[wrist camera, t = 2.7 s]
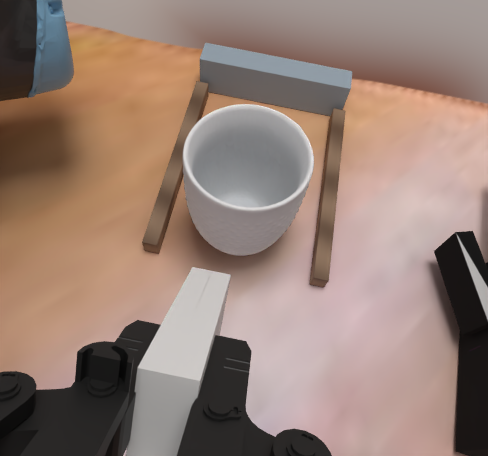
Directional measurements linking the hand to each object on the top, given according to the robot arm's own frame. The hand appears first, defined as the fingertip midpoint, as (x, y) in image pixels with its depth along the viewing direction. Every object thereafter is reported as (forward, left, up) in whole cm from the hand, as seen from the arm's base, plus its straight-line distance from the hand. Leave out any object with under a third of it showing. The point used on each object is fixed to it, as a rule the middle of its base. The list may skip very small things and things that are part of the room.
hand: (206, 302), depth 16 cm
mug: (-12, +13, -25) cm, 31 cm away
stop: (-26, +26, -25) cm, 44 cm away
